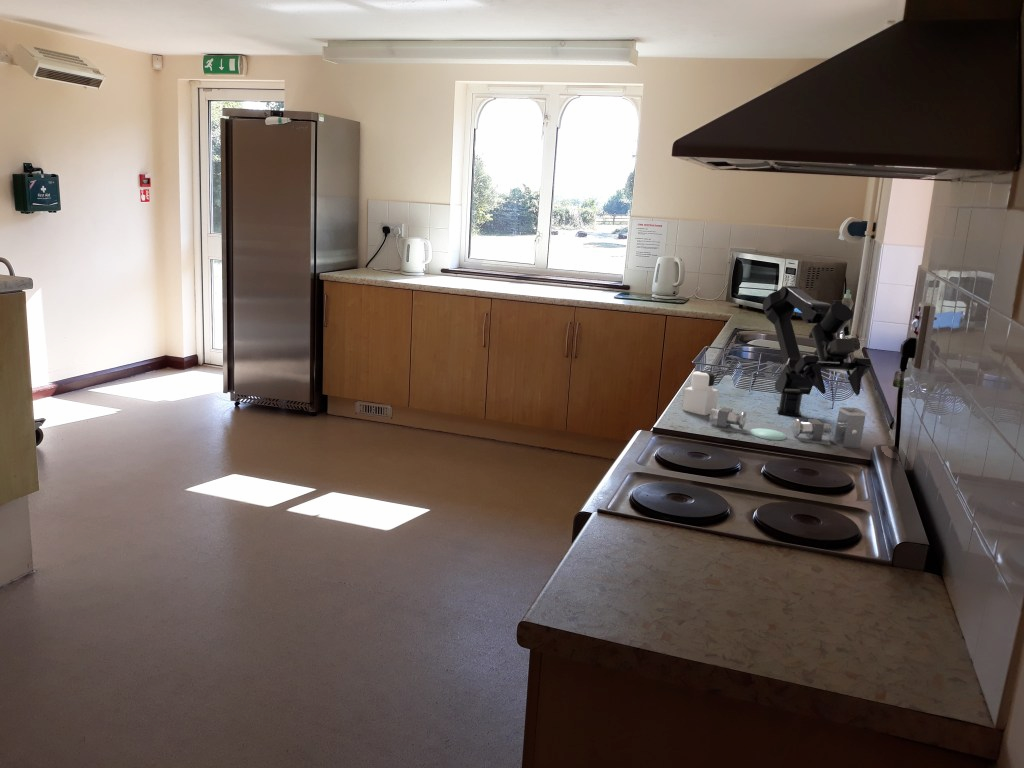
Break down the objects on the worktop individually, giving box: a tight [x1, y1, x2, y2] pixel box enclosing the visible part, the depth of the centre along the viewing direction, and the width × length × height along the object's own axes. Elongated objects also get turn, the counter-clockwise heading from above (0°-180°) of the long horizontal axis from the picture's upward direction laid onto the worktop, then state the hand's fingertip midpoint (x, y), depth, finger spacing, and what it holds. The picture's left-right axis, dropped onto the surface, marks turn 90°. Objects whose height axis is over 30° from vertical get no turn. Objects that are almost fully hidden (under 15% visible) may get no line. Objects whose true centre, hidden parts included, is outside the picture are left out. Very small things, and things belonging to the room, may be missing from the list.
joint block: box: [833, 406, 867, 449], centre depth 204 cm, size 5×5×10 cm
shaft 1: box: [709, 406, 747, 429], centre depth 213 cm, size 8×5×5 cm, turn 60°
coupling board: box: [707, 417, 832, 446], centre depth 211 cm, size 14×30×1 cm, turn 75°
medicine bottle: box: [681, 370, 719, 416], centre depth 227 cm, size 7×7×12 cm
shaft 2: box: [791, 418, 832, 441], centre depth 208 cm, size 8×5×5 cm, turn 90°
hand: (841, 394), depth 209 cm, fingers open, 9 cm apart
